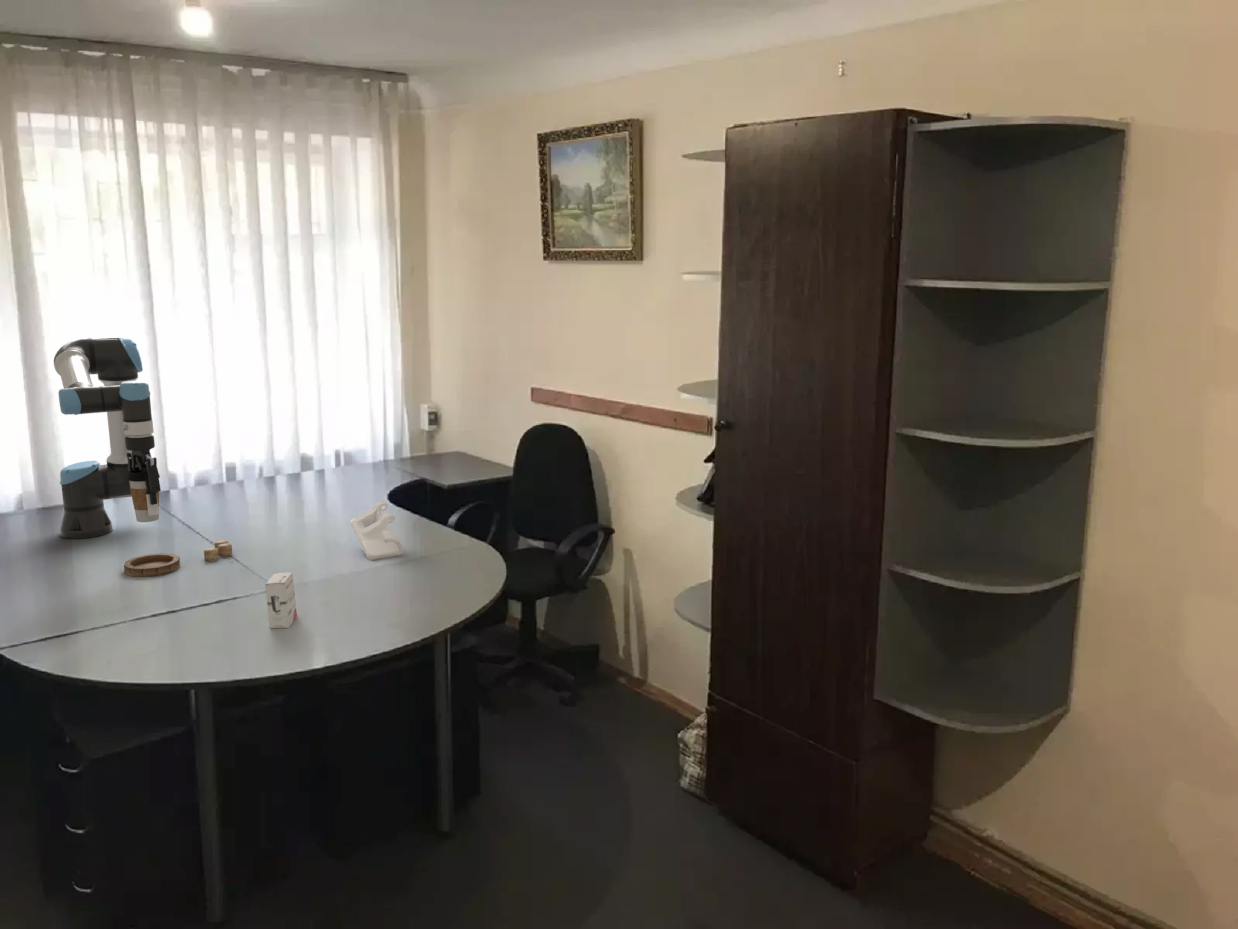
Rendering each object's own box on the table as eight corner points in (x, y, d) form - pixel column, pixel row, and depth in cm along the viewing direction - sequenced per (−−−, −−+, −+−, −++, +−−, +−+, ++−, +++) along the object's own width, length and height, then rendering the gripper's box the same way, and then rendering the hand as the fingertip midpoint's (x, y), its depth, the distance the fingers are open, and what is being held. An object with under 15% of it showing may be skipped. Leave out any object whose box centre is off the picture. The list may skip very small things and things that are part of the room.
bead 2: (212, 551, 300) (211, 542, 300) (224, 548, 303) (223, 539, 303) (219, 554, 298) (218, 544, 297) (231, 551, 301) (230, 542, 300)
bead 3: (216, 555, 297) (215, 545, 296) (228, 552, 300) (227, 542, 299) (222, 557, 295) (222, 548, 294) (235, 554, 298) (234, 545, 297)
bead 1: (202, 559, 293) (201, 549, 292) (214, 556, 296) (213, 547, 295) (208, 562, 290) (207, 552, 290) (221, 558, 293) (220, 549, 293)
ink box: (277, 616, 247) (273, 572, 244) (297, 615, 247) (294, 571, 245) (268, 629, 238) (264, 583, 236) (288, 628, 239) (285, 583, 236)
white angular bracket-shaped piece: (402, 567, 302) (408, 536, 294) (367, 573, 295) (372, 542, 288) (379, 526, 314) (384, 495, 307) (345, 531, 308) (350, 500, 300)
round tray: (115, 569, 283) (114, 561, 282) (166, 557, 294) (165, 550, 293) (138, 580, 273) (137, 572, 273) (189, 567, 284) (189, 560, 284)
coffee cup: (151, 524, 275) (146, 473, 272) (125, 522, 277) (119, 471, 274) (170, 516, 283) (165, 467, 280) (144, 514, 285) (139, 465, 282)
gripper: (110, 432, 279) (118, 509, 283) (142, 441, 266) (150, 521, 271) (136, 429, 284) (144, 504, 289) (169, 437, 271) (176, 516, 276)
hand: (147, 512), depth 280 cm, fingers closed on coffee cup, 8 cm apart
